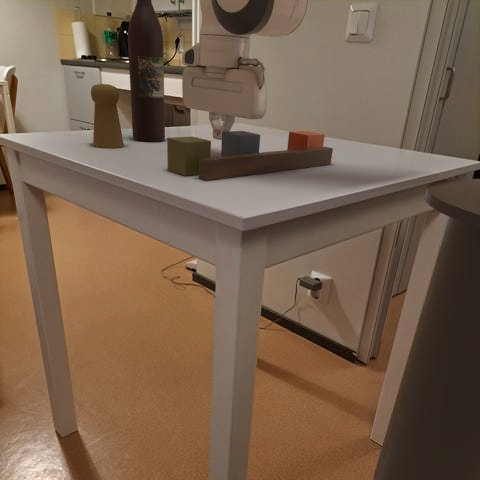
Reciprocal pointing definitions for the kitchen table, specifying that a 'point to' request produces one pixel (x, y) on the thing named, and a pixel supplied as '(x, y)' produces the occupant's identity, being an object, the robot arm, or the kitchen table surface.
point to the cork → (106, 117)
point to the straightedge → (262, 162)
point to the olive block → (186, 154)
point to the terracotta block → (305, 140)
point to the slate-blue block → (239, 143)
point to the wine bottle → (146, 73)
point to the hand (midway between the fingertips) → (220, 139)
